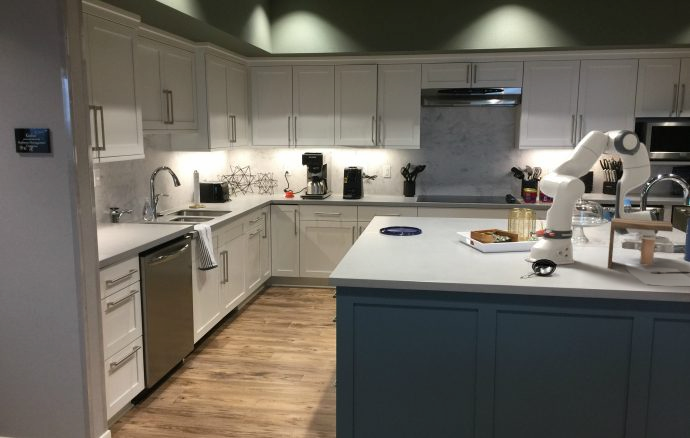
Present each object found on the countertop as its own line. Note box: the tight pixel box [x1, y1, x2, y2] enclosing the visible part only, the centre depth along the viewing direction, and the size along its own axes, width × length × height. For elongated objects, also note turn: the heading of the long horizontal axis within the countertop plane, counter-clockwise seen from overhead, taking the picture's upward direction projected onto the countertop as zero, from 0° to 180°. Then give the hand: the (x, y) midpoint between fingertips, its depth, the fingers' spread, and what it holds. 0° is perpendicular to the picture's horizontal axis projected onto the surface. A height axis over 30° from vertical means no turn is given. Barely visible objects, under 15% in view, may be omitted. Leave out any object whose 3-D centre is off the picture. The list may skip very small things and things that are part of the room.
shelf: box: [607, 217, 674, 269], centre depth 246 cm, size 15×23×20 cm, turn 64°
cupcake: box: [535, 220, 544, 237], centre depth 300 cm, size 9×8×12 cm
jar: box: [639, 235, 656, 266], centre depth 246 cm, size 5×5×12 cm
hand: (647, 248), depth 245 cm, fingers closed on jar, 5 cm apart
